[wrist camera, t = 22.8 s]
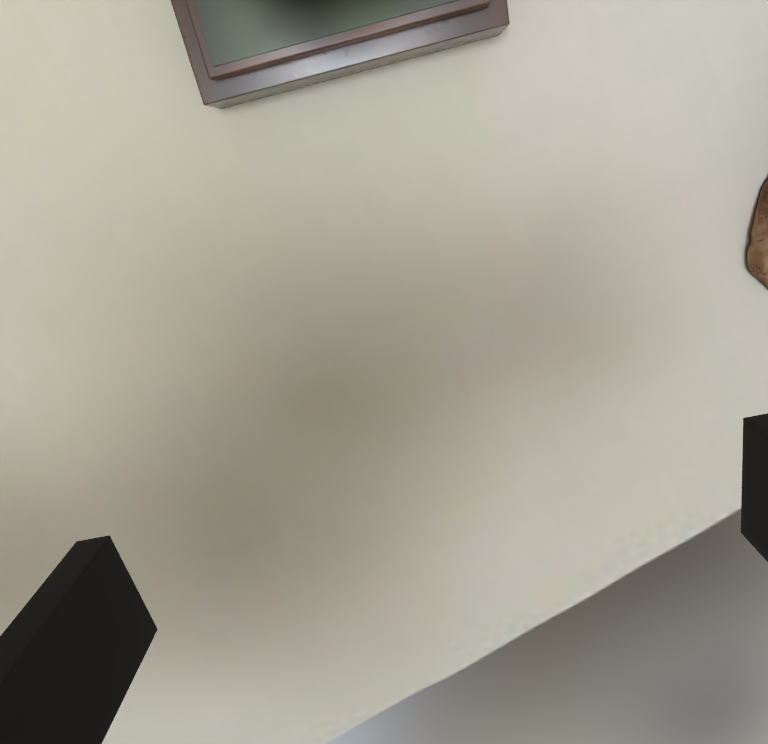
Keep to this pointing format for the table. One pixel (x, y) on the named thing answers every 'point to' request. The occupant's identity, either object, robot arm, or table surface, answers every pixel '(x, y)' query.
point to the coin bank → (760, 239)
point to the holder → (318, 39)
